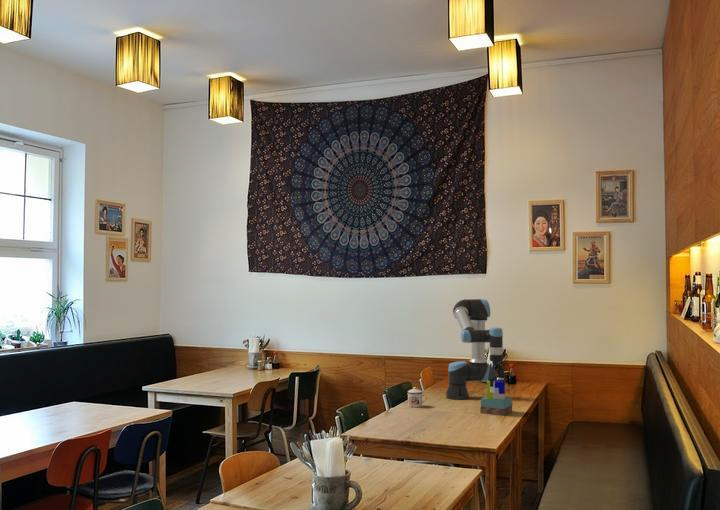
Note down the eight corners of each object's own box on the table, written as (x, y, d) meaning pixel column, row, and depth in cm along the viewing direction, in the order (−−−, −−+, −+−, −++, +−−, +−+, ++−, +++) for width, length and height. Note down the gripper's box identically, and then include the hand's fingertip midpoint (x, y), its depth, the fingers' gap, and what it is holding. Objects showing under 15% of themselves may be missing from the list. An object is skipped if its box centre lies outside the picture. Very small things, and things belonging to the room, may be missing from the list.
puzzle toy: (504, 399, 382) (504, 382, 383) (487, 399, 385) (486, 381, 385) (505, 396, 392) (504, 379, 392) (487, 396, 394) (487, 379, 395)
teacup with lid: (406, 407, 404) (405, 387, 405) (409, 404, 413) (409, 385, 413) (425, 408, 401) (425, 388, 401) (428, 405, 409) (428, 386, 410)
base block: (480, 414, 386) (480, 406, 386) (489, 410, 398) (489, 402, 398) (503, 416, 378) (503, 408, 379) (512, 412, 390) (512, 405, 390)
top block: (480, 406, 386) (480, 398, 386) (490, 402, 398) (490, 395, 398) (503, 408, 379) (503, 401, 379) (512, 405, 390) (512, 397, 390)
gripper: (494, 356, 377) (494, 394, 376) (509, 352, 398) (509, 388, 397) (482, 356, 381) (482, 393, 380) (497, 351, 402) (497, 387, 401)
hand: (496, 390), depth 388 cm, fingers open, 13 cm apart
